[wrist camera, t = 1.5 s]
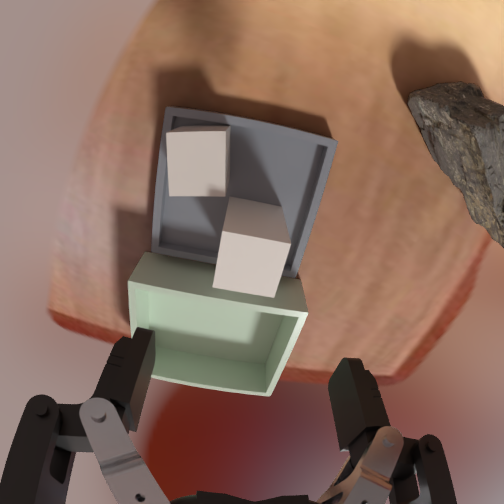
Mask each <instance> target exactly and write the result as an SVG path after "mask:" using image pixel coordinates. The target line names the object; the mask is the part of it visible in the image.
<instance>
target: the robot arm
mask: <svg viewBox="0 0 504 504" xmlns="http://www.w3.org/2000/svg"><path fill="white" fill-rule="evenodd" d="M155 357H156V348H155V331H154V330H150V329H145V328H141V327H137V328H136V330H135V332H134V335H133V337H132V338H128V337H124V336H123V337H122V338H121V339H120V340H119V341H117V342H116V343H115V344H114V346H113V349H112V351H111V353H110V356H109V358H108V360H107V364H106V365H105V367H104V370H103V372H102V374H101V377H100V379H99V382H98V384H97V387H96V390H95V392H94V394H93V396H92V397H91V398H90V399H89V400H87V401H85V402H84V403H81V404H57V403H56V402H55V400H54V399H52V398H51V397H49V396H47V395H36V396H34V397H32V398H31V399H30V400H29V401H28V403H27V405H26V407H25V410H24V412H23V415H22V417H21V420H20V423H19V425H18V428H17V431H16V434H15V436H14V439H13V442H12V445H11V448H10V451H9V454H8V458H7V461H6V464H5V468H4V471H3V475H2V479H1V483H0V504H65V502H66V496H67V491H68V486H69V481H70V476H71V471H72V467H73V462H74V458H75V454H76V452H94V454H95V456H96V458H97V460H98V462H99V465H100V468H101V471H102V474H103V476H104V478H105V480H106V482H107V484H108V485H109V488H110V490H111V492H112V493H113V495H114V497H115V499H116V501H117V502H118V504H385V502H386V500H387V498H388V496H389V501H390V504H457V501H456V497H455V492H454V488H453V484H452V480H451V476H450V472H449V468H448V465H447V461H446V457H445V454H444V450H443V447H442V444H441V442H440V440H439V439H438V438H437V437H435V436H434V435H430V434H427V435H425V436H423V437H422V438H420V439H419V440H416V439H410V438H405V437H403V436H402V434H401V433H400V431H399V430H397V429H396V428H394V427H391V425H390V423H389V419H388V416H387V413H386V410H385V407H384V404H383V401H382V398H381V394H380V391H379V390H378V385H377V382H376V379H375V378H374V377H373V375H372V374H371V373H370V371H369V370H365V369H364V366H363V363H362V361H361V359H359V358H343V359H342V360H341V362H340V363H339V365H338V367H337V368H336V370H335V371H334V373H333V375H332V376H331V378H330V380H329V384H328V391H329V396H330V401H331V406H332V411H333V416H334V421H335V426H336V431H337V437H338V442H339V447H340V451H349V452H350V456H349V457H348V458H347V460H346V461H345V463H344V465H343V466H342V468H341V470H340V471H339V473H338V475H337V476H336V478H335V479H334V481H333V482H332V484H331V485H330V487H329V488H328V489H327V491H326V492H325V493H324V494H322V495H321V497H320V498H319V499H318V500H317V502H314V501H311V500H309V498H308V495H298V496H297V495H296V496H280V497H276V498H271V499H267V500H262V501H257V502H253V501H249V500H245V499H241V498H238V497H234V496H231V495H228V494H222V493H212V492H203V491H197V494H196V495H189V496H185V497H180V498H177V499H175V500H172V501H170V502H169V501H168V499H167V498H166V496H165V495H164V493H163V492H162V490H161V489H160V487H159V486H158V484H157V482H156V481H155V479H154V478H153V476H152V474H151V473H150V471H149V469H148V468H147V466H146V464H145V463H144V461H143V460H142V458H141V456H140V455H139V454H138V452H137V451H136V449H135V447H134V445H133V443H132V441H131V440H130V438H129V436H128V434H129V430H131V431H135V432H136V431H137V427H138V423H139V419H140V416H141V412H142V408H143V404H144V401H145V397H146V393H147V389H148V386H149V382H150V379H151V375H152V372H153V368H154V364H155ZM416 473H417V477H418V481H419V486H420V495H419V491H418V486H417V481H416V476H415V474H416Z"/></svg>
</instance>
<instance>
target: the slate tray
mask: <svg viewBox="0 0 504 504" xmlns="http://www.w3.org/2000/svg"><path fill="white" fill-rule="evenodd" d="M193 125H231V137H230V181H229V184H228V188H227V192H226V196H225V197H219V196H169V183H168V166H167V142H166V133H167V132H169V131H171V130H173V129H176V128H178V127H180V126H193ZM337 144H338V141H337V140H335V139H333V138H331V137H327V136H323V135H320V134H316V133H313V132H309V131H305V130H301V129H297V128H293V127H289V126H285V125H280V124H276V123H272V122H267V121H262V120H257V119H253V118H247V117H242V116H237V115H231V114H225V113H219V112H213V111H207V110H200V109H192V108H185V107H176V106H168V107H166V109H165V115H164V122H163V128H162V136H161V143H160V151H159V159H158V168H157V177H156V187H155V199H154V211H153V226H152V245H151V252H153V253H158V254H164V255H169V256H174V257H179V258H185V259H190V260H195V261H201V262H206V263H212V264H217V258H218V252H219V247H220V241H221V236H222V230H223V225H224V221H225V216H226V211H227V207H228V202H229V198H230V197H236V198H241V199H246V200H251V201H256V202H261V203H266V204H271V205H276V206H281V207H282V209H283V213H284V217H285V221H286V225H287V229H288V233H289V237H290V241H291V246H290V249H289V252H288V256H287V259H286V262H285V265H284V269H283V272H282V275H281V276H285V277H291V278H296V275H297V272H298V269H299V266H300V263H301V260H302V257H303V254H304V251H305V248H306V245H307V242H308V239H309V236H310V233H311V230H312V227H313V224H314V221H315V218H316V214H317V211H318V208H319V205H320V201H321V198H322V195H323V192H324V188H325V185H326V182H327V178H328V175H329V172H330V168H331V165H332V161H333V158H334V154H335V151H336V147H337Z"/></svg>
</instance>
